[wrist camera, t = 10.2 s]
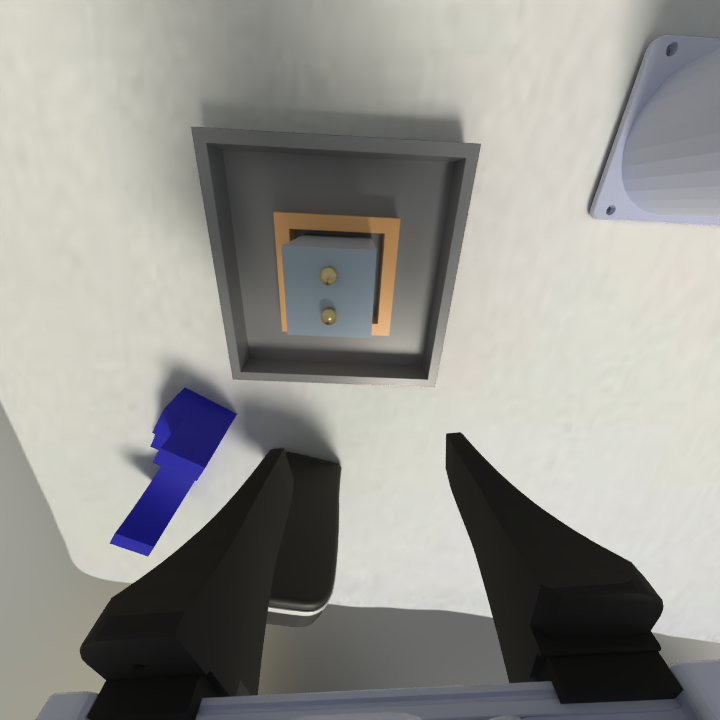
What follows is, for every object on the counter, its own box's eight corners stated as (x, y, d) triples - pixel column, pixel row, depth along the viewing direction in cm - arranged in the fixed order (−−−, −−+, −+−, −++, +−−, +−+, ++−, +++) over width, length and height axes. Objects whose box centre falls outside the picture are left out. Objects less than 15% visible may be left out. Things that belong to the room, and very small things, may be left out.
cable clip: (185, 386, 24) (136, 437, 19) (237, 412, 25) (205, 467, 20) (140, 474, 29) (89, 536, 23) (186, 493, 30) (148, 556, 24)
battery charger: (262, 475, 28) (208, 625, 18) (269, 445, 27) (213, 592, 17) (334, 490, 29) (320, 641, 19) (344, 462, 28) (336, 611, 17)
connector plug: (371, 236, 18) (377, 251, 12) (367, 300, 20) (371, 342, 14) (305, 233, 18) (278, 247, 12) (308, 298, 20) (285, 338, 14)
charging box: (464, 152, 17) (480, 143, 15) (427, 370, 23) (435, 387, 21) (213, 137, 17) (191, 126, 14) (245, 362, 23) (232, 379, 21)
